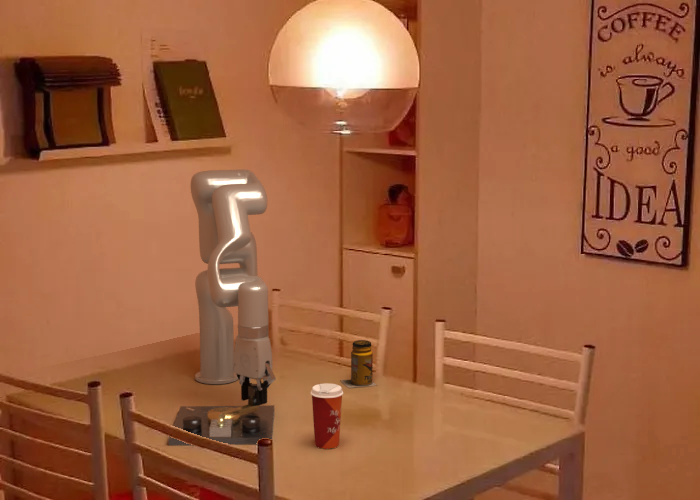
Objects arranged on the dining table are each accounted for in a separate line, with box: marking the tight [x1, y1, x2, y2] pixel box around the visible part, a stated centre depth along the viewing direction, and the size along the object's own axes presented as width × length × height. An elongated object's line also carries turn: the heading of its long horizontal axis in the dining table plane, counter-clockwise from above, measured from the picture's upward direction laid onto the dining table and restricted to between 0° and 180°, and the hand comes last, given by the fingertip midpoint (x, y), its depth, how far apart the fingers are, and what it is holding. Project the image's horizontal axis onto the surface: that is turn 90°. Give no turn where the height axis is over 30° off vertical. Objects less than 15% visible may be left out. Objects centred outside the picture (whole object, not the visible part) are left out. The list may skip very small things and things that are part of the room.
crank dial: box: [207, 383, 258, 424], centre depth 258 cm, size 16×8×7 cm, turn 138°
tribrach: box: [168, 404, 275, 446], centre depth 256 cm, size 24×24×6 cm
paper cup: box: [310, 383, 344, 450], centre depth 243 cm, size 8×8×14 cm
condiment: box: [340, 339, 378, 389], centre depth 292 cm, size 7×8×12 cm
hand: (254, 401), depth 263 cm, fingers open, 4 cm apart
